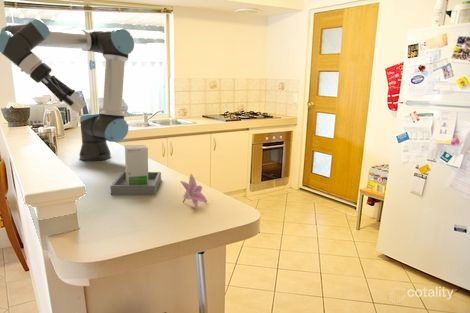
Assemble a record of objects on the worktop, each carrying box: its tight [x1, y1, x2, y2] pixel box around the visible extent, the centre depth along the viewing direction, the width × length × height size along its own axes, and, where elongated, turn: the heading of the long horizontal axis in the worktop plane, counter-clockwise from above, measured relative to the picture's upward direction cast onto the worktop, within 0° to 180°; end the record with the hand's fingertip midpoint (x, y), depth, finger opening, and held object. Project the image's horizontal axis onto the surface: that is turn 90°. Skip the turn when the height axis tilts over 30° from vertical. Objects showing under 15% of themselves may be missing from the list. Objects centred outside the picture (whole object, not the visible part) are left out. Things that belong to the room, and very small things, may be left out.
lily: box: [180, 173, 208, 209], centre depth 119 cm, size 12×12×10 cm
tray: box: [110, 171, 162, 196], centre depth 135 cm, size 18×16×4 cm
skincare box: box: [124, 144, 149, 185], centre depth 134 cm, size 8×7×16 cm
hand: (82, 108), depth 137 cm, fingers open, 13 cm apart
